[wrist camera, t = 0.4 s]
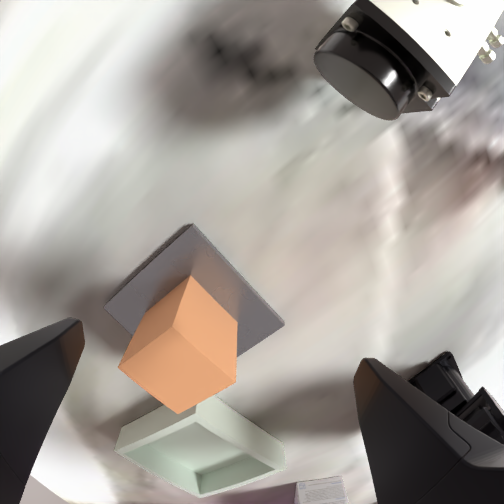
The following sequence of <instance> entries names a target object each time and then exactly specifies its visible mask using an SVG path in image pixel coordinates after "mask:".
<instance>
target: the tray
mask: <svg viewBox="0 0 504 504" xmlns="http://www.w3.org/2000/svg"><path fill="white" fill-rule="evenodd" d="M114 452H116V453H117V454H119V455H120V456H122V457H123V458H125V459H127V460H128V461H130V462H132V463H133V464H135V465H137V466H138V467H140V468H142V469H144V470H145V471H147V472H149V473H151V474H152V475H154V476H156V477H158V478H160V479H162V480H164V481H166V482H167V483H169V484H171V485H173V486H175V487H177V488H179V489H182V490H184V491H186V492H188V493H190V494H192V495H194V496H197V497H199V498H203V497H207V496H210V495H214V494H217V493H221V492H224V491H227V490H231V489H234V488H237V487H240V486H243V485H246V484H249V483H252V482H255V481H257V480H260V479H263V478H266V477H268V476H271V475H273V474H276V473H278V472H281V471H283V470H286V469H287V468H286V459H285V451H284V443H282V442H281V441H279V440H278V439H276V438H275V437H273V436H271V435H270V434H268V433H267V432H265V431H264V430H262V429H261V428H259V427H258V426H256V425H255V424H254V423H252V422H251V421H249V420H248V419H246V418H245V417H243V416H242V415H241V414H239V413H238V412H236V411H235V410H234V409H232V408H231V407H230V406H228V405H227V404H226V403H224V402H223V401H221V400H220V399H219V398H217V397H216V396H215V395H213V396H211V397H209V398H207V399H206V400H204V401H202V402H200V403H198V404H196V405H195V406H193V407H191V408H189V409H187V410H185V411H183V412H181V413H179V414H177V413H175V412H174V411H172V410H171V409H170V408H168V407H167V406H166V405H162V406H161V407H159V408H157V409H155V410H153V411H152V412H150V413H148V414H146V415H144V416H142V417H140V418H139V419H137V420H135V421H133V422H131V423H129V424H127V425H125V426H123V427H122V428H121V431H120V434H119V437H118V440H117V443H116V446H115V449H114Z"/></svg>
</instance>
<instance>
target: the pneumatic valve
mask: <svg viewBox="0 0 504 504" xmlns="http://www.w3.org/2000/svg"><path fill="white" fill-rule="evenodd" d="M503 10H504V0H356V1H355V2H354V3H353V4H352V5H351V6H350V8H349V9H348V10H347V11H346V12H345V13H344V14H343V16H342V17H341V18H340V19H339V20H338V21H337V23H336V24H335V25H334V26H333V27H332V28H331V30H330V31H329V32H328V33H327V34H326V36H325V37H324V38H323V39H322V40H321V42H320V43H319V44H318V45H317V47H316V48H315V49H316V50H317V51H316V52H315V54H314V63H315V65H316V67H317V69H318V70H319V72H320V73H321V75H322V76H323V77H324V78H325V79H326V80H327V81H328V83H329V84H330V85H331V86H333V87H334V88H335V89H336V90H337V91H338V92H339V93H340V94H342V95H343V96H344V97H345V98H347V99H348V100H349V101H351V102H352V103H353V104H355V105H356V106H358V107H359V108H361V109H362V110H364V111H366V112H367V113H369V114H371V115H373V116H375V117H378V118H381V119H384V120H391V121H392V120H396V119H397V118H398V117H399V116H400V114H401V113H411V112H421V111H432V110H433V108H434V107H435V106H436V104H437V103H438V101H439V100H440V98H442V97H449V96H450V95H451V93H452V92H453V90H454V89H455V87H456V86H457V84H458V83H459V81H460V80H461V78H462V77H463V75H464V74H465V72H466V71H467V69H468V67H469V66H470V64H471V63H472V61H473V60H474V58H475V56H476V55H478V56H480V57H479V58H480V59H481V61H482V62H483V63H484V64H489V63H491V62H492V61H494V59H495V57H496V56H495V53H494V52H493V51H492V50H490V49H489V45H488V44H487V43H486V42H485V40H486V39H487V40H490V41H489V44H490V45H491V46H492V47H493V48H498V47H500V46H501V45H503V43H504V39H503V38H502V36H501V35H498V32H497V30H496V28H495V27H494V25H495V24H496V22H497V20H498V19H499V17H500V15H501V13H502V12H503Z"/></svg>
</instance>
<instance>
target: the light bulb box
mask: <svg viewBox="0 0 504 504" xmlns="http://www.w3.org/2000/svg"><path fill="white" fill-rule="evenodd" d="M294 504H349V501H348V497H347V493H346V489H345V485H344V481H343V477H342V476H337V477H331V478H325V479H318V480H311V481H303V482H297V483H296V490H295V498H294Z"/></svg>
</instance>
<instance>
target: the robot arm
mask: <svg viewBox="0 0 504 504" xmlns="http://www.w3.org/2000/svg"><path fill="white" fill-rule="evenodd" d="M84 345H85V339H84V333H83V326H82V322H81V321H80V320H79V319H75V318H67V319H64V320H62V321H59V322H57V323H54V324H52V325H49V326H47V327H45V328H42V329H40V330H37V331H35V332H32V333H30V334H27V335H25V336H22V337H20V338H18V339H15V340H13V341H10V342H8V343H5V344H3V345H0V504H19V503H20V500H21V498H22V495H23V492H24V489H25V485H26V483H27V480H28V478H29V475H30V473H31V470H32V468H33V465H34V463H35V460H36V458H37V455H38V453H39V451H40V448H41V446H42V444H43V441H44V439H45V437H46V434H47V432H48V430H49V428H50V425H51V423H52V421H53V419H54V417H55V415H56V412H57V410H58V408H59V406H60V404H61V402H62V400H63V398H64V396H65V394H66V392H67V390H68V387H69V385H70V383H71V381H72V378H73V375H74V373H75V370H76V367H77V364H78V362H79V359H80V357H81V354H82V351H83V349H84ZM353 383H354V391H355V398H356V405H357V412H358V419H359V424H360V428H361V432H362V436H363V440H364V445H365V449H366V453H367V457H368V461H369V466H370V470H371V474H372V479H373V483H374V488H375V493H376V497H377V502H378V504H504V411H503V409H502V408H501V407H500V405H499V404H498V403H497V402H496V400H495V399H494V398H493V397H492V396H491V395H490V393H489V392H488V391H487V390H486V389H485V388H484V387H483V386H482V387H481V388H480V389H479V391H478V392H477V393H476V394H475V395H474V394H473V393H472V392H471V390H470V389H469V387H468V386H467V385H466V383H465V382H464V381H463V378H462V376H461V373H460V371H459V368H458V366H457V364H456V361H455V359H454V357H453V354H452V353H451V352H447V353H445V354H444V355H443V356H442V357H441V358H439V359H438V360H437V361H435V362H434V363H433V364H432V365H430V366H429V367H428V368H426V369H425V370H424V371H422V372H421V373H420V374H418V375H417V376H416V377H414V378H413V379H411V380H410V381H409V382H407V381H406V380H404V379H403V378H402V377H400V376H399V375H397V374H396V373H395V372H393V371H392V370H391V369H389V368H388V367H386V366H385V365H384V364H382V363H381V362H379V361H378V360H377V359H375V358H363V359H362V360H361V362H360V365H359V367H358V369H357V372H356V374H355V376H354V381H353Z"/></svg>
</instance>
